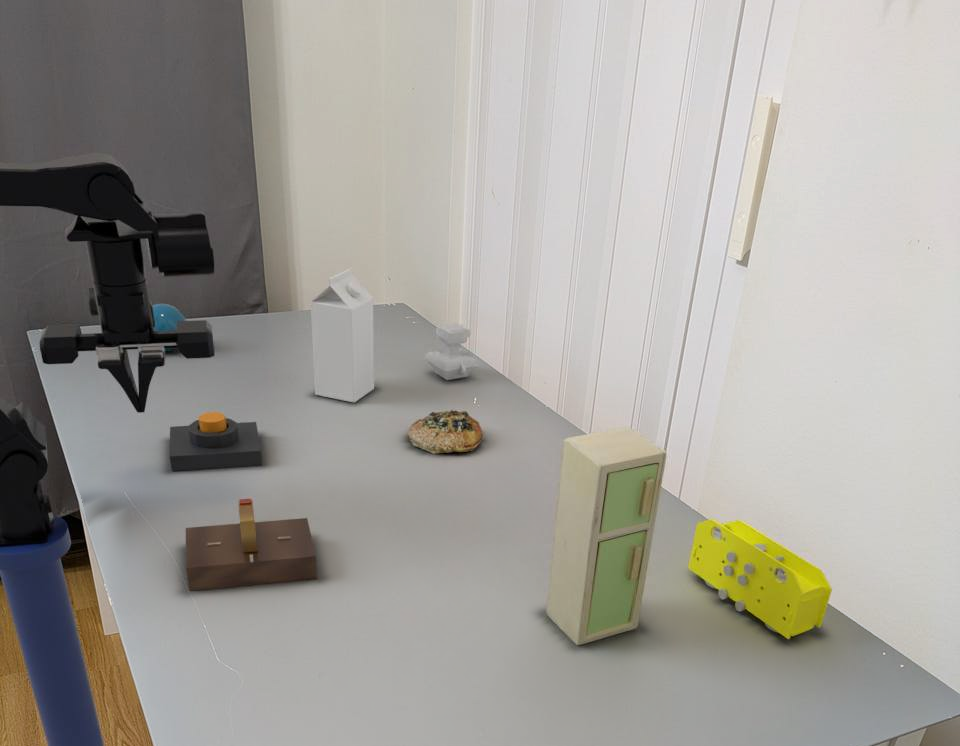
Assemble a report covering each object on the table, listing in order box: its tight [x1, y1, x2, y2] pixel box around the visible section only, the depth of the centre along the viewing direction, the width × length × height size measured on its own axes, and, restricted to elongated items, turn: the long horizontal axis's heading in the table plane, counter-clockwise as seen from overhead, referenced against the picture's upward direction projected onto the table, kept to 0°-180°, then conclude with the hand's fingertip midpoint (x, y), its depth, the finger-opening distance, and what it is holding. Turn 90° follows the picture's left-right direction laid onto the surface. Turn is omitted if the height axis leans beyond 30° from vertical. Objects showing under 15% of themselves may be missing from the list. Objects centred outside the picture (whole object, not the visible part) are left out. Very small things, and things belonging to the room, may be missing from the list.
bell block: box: [169, 417, 263, 472], centre depth 132 cm, size 12×10×4 cm
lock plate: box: [184, 517, 318, 592], centre depth 109 cm, size 14×9×3 cm, turn 105°
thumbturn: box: [237, 497, 258, 553], centre depth 107 cm, size 5×2×4 cm, turn 14°
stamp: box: [425, 322, 479, 381], centre depth 160 cm, size 9×7×8 cm
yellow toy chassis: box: [687, 518, 833, 640], centre depth 105 cm, size 16×6×8 cm, turn 31°
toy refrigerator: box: [546, 426, 667, 646], centre depth 97 cm, size 8×7×21 cm
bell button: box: [198, 411, 227, 433], centre depth 131 cm, size 4×4×2 cm
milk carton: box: [310, 267, 375, 403], centre depth 149 cm, size 7×7×19 cm
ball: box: [152, 303, 187, 352], centre depth 164 cm, size 8×8×8 cm
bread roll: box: [407, 409, 484, 454], centre depth 139 cm, size 11×11×5 cm
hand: (141, 411), depth 114 cm, fingers closed
